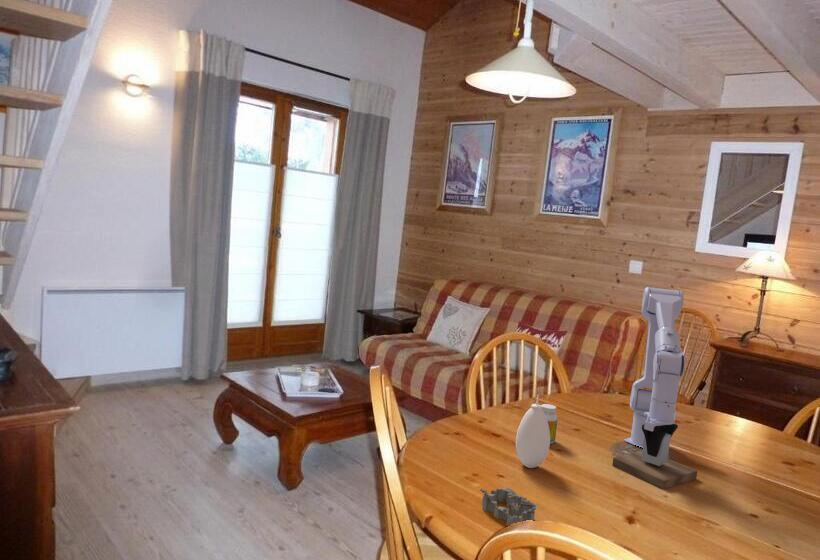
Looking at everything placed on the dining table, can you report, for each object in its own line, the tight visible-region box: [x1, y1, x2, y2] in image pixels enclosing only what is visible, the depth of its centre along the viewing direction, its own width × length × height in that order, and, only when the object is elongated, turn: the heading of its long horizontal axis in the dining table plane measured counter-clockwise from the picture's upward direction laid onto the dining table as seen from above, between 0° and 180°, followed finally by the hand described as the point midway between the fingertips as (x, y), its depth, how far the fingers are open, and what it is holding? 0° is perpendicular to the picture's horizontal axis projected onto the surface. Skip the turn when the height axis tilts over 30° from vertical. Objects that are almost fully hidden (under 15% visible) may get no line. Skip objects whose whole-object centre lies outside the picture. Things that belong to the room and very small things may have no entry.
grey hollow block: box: [479, 487, 539, 527], centre depth 118 cm, size 11×8×4 cm
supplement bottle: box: [540, 403, 559, 445], centre depth 161 cm, size 5×5×10 cm
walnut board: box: [612, 450, 698, 490], centre depth 146 cm, size 14×14×2 cm
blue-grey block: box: [641, 434, 672, 466], centre depth 145 cm, size 5×5×7 cm
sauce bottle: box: [515, 394, 551, 469], centre depth 142 cm, size 8×8×18 cm
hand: (656, 453), depth 145 cm, fingers closed on blue-grey block, 4 cm apart
